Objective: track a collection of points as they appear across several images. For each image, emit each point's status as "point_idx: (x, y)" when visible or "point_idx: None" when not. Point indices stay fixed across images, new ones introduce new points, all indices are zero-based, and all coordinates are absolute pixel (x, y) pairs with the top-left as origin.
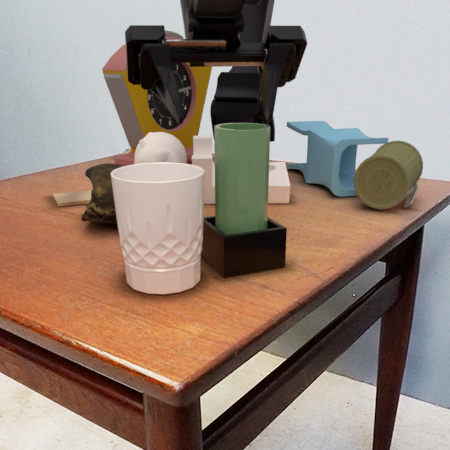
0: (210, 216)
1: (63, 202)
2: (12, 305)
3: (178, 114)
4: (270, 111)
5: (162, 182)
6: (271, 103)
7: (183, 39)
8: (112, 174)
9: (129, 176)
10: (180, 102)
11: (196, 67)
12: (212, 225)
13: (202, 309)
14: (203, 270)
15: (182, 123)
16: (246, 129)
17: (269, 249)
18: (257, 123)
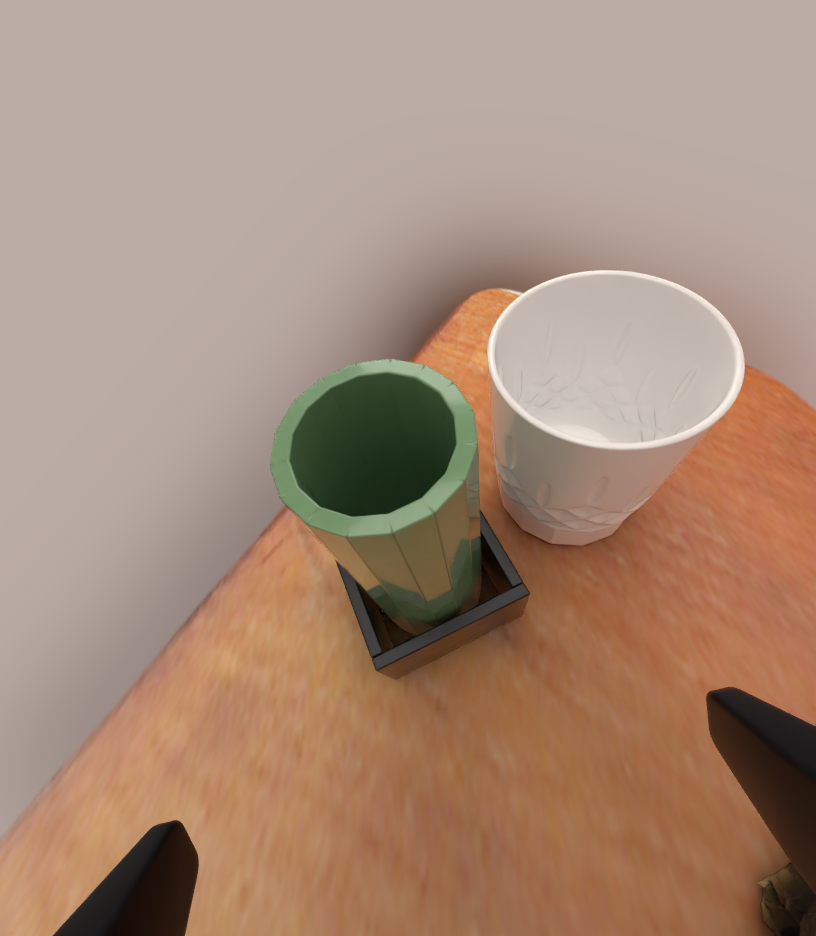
0: (499, 608)
1: None
2: (775, 386)
3: (749, 696)
4: (155, 837)
5: (562, 276)
6: (103, 902)
7: None
8: (713, 308)
9: (712, 410)
10: (799, 757)
11: None
12: (484, 534)
13: (480, 402)
14: (499, 535)
15: (710, 729)
16: (361, 370)
17: None
18: (304, 507)
